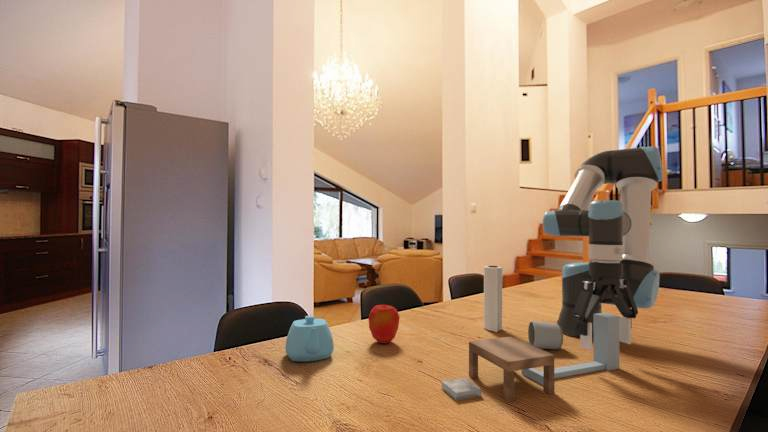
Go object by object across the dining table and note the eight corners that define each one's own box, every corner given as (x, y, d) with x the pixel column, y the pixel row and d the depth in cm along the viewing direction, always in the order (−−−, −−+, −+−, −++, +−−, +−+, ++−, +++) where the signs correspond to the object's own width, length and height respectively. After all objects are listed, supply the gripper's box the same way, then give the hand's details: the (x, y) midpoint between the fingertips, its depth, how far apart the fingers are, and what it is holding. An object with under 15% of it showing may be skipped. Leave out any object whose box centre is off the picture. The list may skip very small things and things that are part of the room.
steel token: (465, 386, 84) (465, 377, 84) (481, 398, 78) (481, 388, 78) (441, 390, 82) (441, 381, 82) (456, 402, 76) (456, 392, 76)
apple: (363, 344, 111) (363, 303, 111) (375, 336, 119) (375, 298, 120) (393, 349, 107) (393, 306, 108) (403, 340, 116) (403, 300, 116)
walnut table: (510, 369, 93) (510, 336, 93) (554, 392, 80) (554, 355, 80) (468, 375, 89) (469, 341, 89) (508, 402, 76) (508, 362, 76)
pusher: (599, 360, 99) (599, 311, 100) (625, 370, 93) (624, 317, 93) (521, 374, 90) (521, 319, 90) (543, 385, 84) (543, 327, 84)
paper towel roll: (487, 325, 133) (487, 264, 134) (504, 328, 130) (504, 266, 130) (479, 330, 127) (479, 266, 128) (497, 333, 124) (497, 268, 124)
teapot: (288, 328, 90) (284, 311, 107) (288, 373, 90) (283, 349, 107) (340, 323, 94) (328, 308, 111) (340, 367, 94) (327, 344, 111)
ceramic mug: (564, 353, 105) (564, 325, 106) (534, 351, 106) (534, 324, 106) (552, 342, 116) (551, 316, 116) (524, 340, 117) (524, 315, 117)
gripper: (581, 264, 88) (581, 356, 87) (654, 261, 97) (654, 344, 96) (556, 261, 95) (556, 346, 94) (626, 258, 104) (626, 336, 103)
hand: (606, 345), depth 95 cm, fingers open, 13 cm apart
